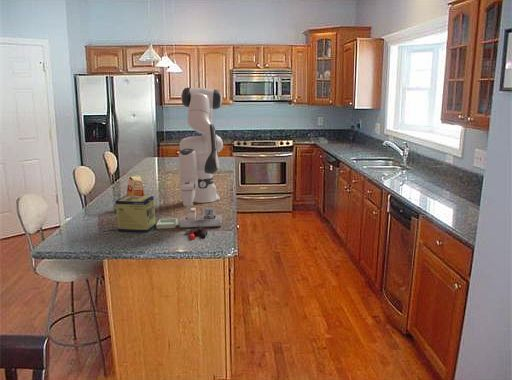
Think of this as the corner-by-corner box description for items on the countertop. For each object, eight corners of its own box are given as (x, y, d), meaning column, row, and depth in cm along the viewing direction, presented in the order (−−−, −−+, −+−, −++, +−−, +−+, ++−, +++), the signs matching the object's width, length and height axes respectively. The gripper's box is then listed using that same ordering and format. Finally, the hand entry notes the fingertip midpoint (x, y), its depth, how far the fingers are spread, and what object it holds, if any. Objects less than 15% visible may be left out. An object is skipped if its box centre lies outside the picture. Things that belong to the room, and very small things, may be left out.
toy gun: (185, 233, 208) (185, 223, 207) (209, 234, 205) (209, 224, 204) (177, 239, 199) (177, 229, 198) (203, 241, 196) (202, 230, 195)
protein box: (148, 232, 209) (145, 201, 205) (117, 231, 211) (114, 200, 208) (156, 226, 219) (154, 195, 215) (127, 225, 221) (124, 195, 218)
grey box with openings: (181, 223, 222) (180, 207, 220) (221, 222, 222) (220, 205, 220) (178, 232, 208) (177, 214, 206) (220, 230, 209) (219, 213, 207)
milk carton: (134, 210, 247) (131, 176, 243) (125, 208, 253) (122, 174, 249) (148, 207, 254) (145, 173, 249) (139, 204, 260) (136, 171, 255)
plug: (188, 223, 220) (187, 208, 218) (196, 223, 220) (195, 207, 218) (187, 225, 216) (186, 210, 214) (195, 225, 216) (194, 210, 214)
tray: (160, 222, 224) (159, 218, 224) (177, 221, 224) (177, 218, 224) (156, 228, 214) (156, 224, 214) (175, 228, 215) (174, 224, 214)
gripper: (184, 178, 223) (186, 204, 226) (179, 187, 203) (181, 216, 207) (197, 177, 223) (198, 203, 227) (193, 187, 203) (194, 215, 207)
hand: (190, 209), depth 216 cm, fingers open, 8 cm apart
